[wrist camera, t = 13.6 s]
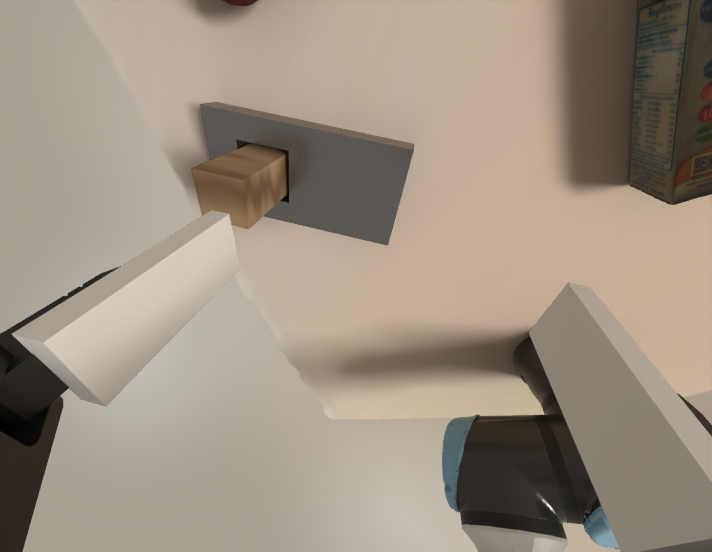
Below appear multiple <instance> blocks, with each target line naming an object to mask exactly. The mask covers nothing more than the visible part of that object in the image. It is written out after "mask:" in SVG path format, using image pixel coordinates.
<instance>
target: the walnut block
mask: <svg viewBox="0 0 712 552" xmlns="http://www.w3.org/2000/svg"><path fill="white" fill-rule="evenodd" d="M191 171H192V175H193V179H194V183H195V187H196V192H197V196H198V200H199V204H200V208H201V213H202V216H203V215H205V214H207V213H208V212H210V211H217V212H222V213H227V214H229V216H230V221H231V225H234V226H238V227H242V228H246V229H249V228H250V227H252V226H253V225H254V224H255V223H256V222H257V221H258V220H259V219H260V218H261V217H263V216H264V215H265V214H266V213H267V212H268V211H269V210H270V209H271V208H272V207H274V206H275V205H276V204H277V203H278V202H279V201H280V200H281V199H282V198H283V197H285V196H286V195H287V194H288V193H289V151H287V150H283V149H278V148H274V147H269V146H264V145H260V144H255V143H251V144H249V145H247V146H244V147H242V148H239V149H237V150H235V151H232V152H230V153H227V154H225V155H222V156H220V157H218V158H215V159H213V160H210V161H208V162H206V163H203V164H201V165H198V166H196V167H194V168H191Z"/></svg>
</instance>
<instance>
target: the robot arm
mask: <svg viewBox="0 0 712 552" xmlns="http://www.w3.org/2000/svg"><path fill="white" fill-rule="evenodd" d="M239 269H240V266H239V261H238V256H237V251H236V246H235V241H234V236H233V231H232V226H231V221H230V216H229V214H227V213H222V212H217V211H210V212H208V213H207V214H205V215H203V216H202V217H200V218H199V219H197V220H195V221H194V222H192V223H190V224H189V225H187V226H186V227H184V228H182V229H181V230H179V231H177V232H176V233H174V234H173V235H171V236H169V237H168V238H166V239H165V240H163V241H161V242H160V243H158V244H156V245H155V246H153V247H152V248H150V249H148V250H147V251H145V252H144V253H142V254H140V255H139V256H137V257H135V258H134V259H132V260H131V261H129V262H127V263H126V264H124V265H123V266H120V267H117V268H115V269H112V270H109V271H107V272H104V273H102V274H99V275H98V276H96V277H94V278H93V279H91V280H89V281H88V282H86V283H85V284H83V286H82V287H78V288H76V289H74V290H73V291H71V292H69V293H68V296H63V297H61V298H59V299H58V300H56V301H54V302H53V303H51V304H49V305H48V306H46V307H45V308H43V309H41V310H40V311H38V312H36V313H35V314H33V315H31V316H30V317H28V318H26V319H25V320H23V321H21V322H20V323H18V324H16V325H15V326H13V327H11V328H10V329H8V330H6V331H5V332H3V333H1V334H0V552H22V551H23V548H24V544H25V540H26V537H27V533H28V530H29V526H30V523H31V519H32V515H33V512H34V508H35V505H36V501H37V498H38V494H39V491H40V487H41V484H42V480H43V476H44V473H45V469H46V466H47V462H48V459H49V455H50V452H51V448H52V444H53V441H54V437H55V433H56V430H57V427H58V423H59V419H60V415H61V412H62V409H63V398H61V397H60V395H61V394H62V393H64V392H65V391H66V390H67V389H68V388H70V390H72V391H73V392H74V393H75V394H76V395H77V396H78V397H79V398H80V399H82V400H85V401H88V402H92V403H95V404H99V405H102V406H107V405H108V404H109V403H110V402H111V401H112V400H113V399H114V398H115V397H116V396H117V395H118V394H119V393H120V391H121V390H122V389H123V388H124V387H125V386H126V385H127V384H128V383H129V382H130V381H131V380H132V379H133V378H134V377H135V376H136V375H137V374H138V373H139V372H140V371H141V370H142V369H143V368H144V367H145V366H146V365H147V364H148V363H149V362H150V361H151V359H152V358H153V357H155V355H156V354H157V353H158V352H159V351H160V350H161V349H162V348H163V347H164V346H165V345H166V344H167V343H168V342H169V341H170V340H171V339H172V338H173V337H174V336H175V335H176V334H177V333H178V332H179V331H180V330H181V329H182V328H183V327H184V325H186V324H187V322H188V321H189V320H190V319H191V318H192V317H193V316H194V315H195V314H196V313H197V312H198V311H199V310H200V309H201V308H202V307H203V306H204V305H205V304H206V303H207V302H208V301H209V300H210V299H211V298H212V297H213V295H215V294H216V292H218V291H219V289H220V288H221V287H222V286H223V285H224V284H225V283H226V282H227V281H228V280H229V279H230V278H231V277H232V276H233V275H234V274H235V273H236V272H237V271H238V270H239ZM529 335H530V337H529V338H527V339H526V340H525V341H523V342H522V343H521V344H520V345H519V346H518V348H517V349H516V351H515V353H514V363H515V366H516V369H517V372H518V374H519V376H520V377H521V379H522V380H523V381H524V382H525V383H526V384H527V385H528V386H529V388H530V390H531V391H532V393H533V394H534V395H535V397H536V398H537V399H538V401H539V402H540V403H541V406H542V408H543V411H544V414H545V415H512V416H480V415H474V416H472V417H460V418H455V419H453V420H451V421H450V422H449V424H448V425H447V428H446V431H445V435H444V440H443V453H442V467H443V480H444V483H445V495H446V499H447V502H448V504H449V506H450V507H451V508H452V509H454V510H455V511H456V512H460V513H461V522H462V529H463V530H464V531H465V533H466V534H467V535H468V536H469V538H470V539H471V540H472V541H473V543H474V544H475V546H476V548H477V550H478V552H564V550H565V548H566V547H567V545H568V541H567V538H566V535H565V531H564V528H563V525H562V523H563V522H567V523H576V524H582V525H584V528H585V531H586V533H587V534H588V535H589V536H590V538H591V539H592V540H593V541H594V542H595V543H597V544H598V545H601V546H604V547H611V548H615V549H619V550H620V551H621V552H712V425H711V424H710V423H709V422H708V420H707V419H706V418H705V417H704V416H703V415H702V414H701V413H700V412H699V411H698V410H696V409H695V408H694V407H693V406H692V405H691V404H690V403H689V402H687V401H686V400H685V399H684V398H683V397H682V396H680V395H679V394H677V393H676V392H675V391H674V390H673V388H672V387H671V386H670V385H669V383H668V382H667V381H666V380H665V378H664V377H663V376H662V375H661V374H660V372H659V371H658V370H657V369H656V367H655V366H654V365H653V364H652V362H651V361H650V360H649V359H648V358H647V356H646V355H645V354H644V353H643V351H642V350H641V349H640V348H639V346H638V345H637V344H636V343H635V342H634V340H633V339H632V338H631V337H630V335H629V334H628V333H627V332H626V330H625V329H624V328H623V327H622V326H621V324H620V323H619V322H618V321H617V319H616V318H615V317H614V316H613V314H612V313H611V312H610V311H609V310H608V308H607V307H606V306H605V305H604V303H603V302H602V301H601V300H600V298H599V297H598V296H597V295H596V294H595V292H594V291H593V290H592V289H591V287H586V286H581V285H577V284H572V283H568V284H567V285H566V286H565V287H564V289H563V290H562V291H561V292H560V294H559V295H558V296H557V297H556V299H555V300H554V301H553V302H552V304H551V305H550V306H549V307H548V309H547V310H546V311H545V313H544V314H543V315H542V316H541V318H540V319H539V320H538V321H537V323H536V324H535V325H534V326H533V328H532V329H531V330H530V331H529Z"/></svg>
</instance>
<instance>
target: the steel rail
mask: <svg viewBox="0 0 712 552" xmlns="http://www.w3.org/2000/svg"><path fill="white" fill-rule="evenodd" d="M200 107H201V112H202V117H203V123H204V128H205V133H206V139H207V144H208V149H209V154H210V160H213V159H215V158H218V157H220V156H222V155H225V154H227V153H230V152H232V151H235V150H237V149H239V148H242V147H244V146H247V145H249V144H250V142H251V143H255V144H260V145H264V146H269V147H274V148H278V149H283V150H287V151H289V193H288V194H287V195H286V196H285V197H283V198H282V199H281V200H280V201H279V202H278V203H277V204H276V205H275V206H274V207H272V208H271V209H270V210H269V211H268V212H267V213H266V214H265V215H264V216H265V217H269V218H273V219H278V220H282V221H286V222H290V223H295V224H299V225H303V226H307V227H311V228H316V229H320V230H324V231H328V232H333V233H337V234H341V235H345V236H350V237H354V238H358V239H362V240H367V241H371V242H375V243H379V244H384V245H388V243H389V239H390V236H391V232H392V228H393V225H394V221H395V217H396V214H397V210H398V206H399V203H400V199H401V195H402V191H403V188H404V184H405V180H406V177H407V173H408V169H409V166H410V162H411V158H412V155H413V151H414V144H411V143H407V142H402V141H397V140H393V139H388V138H383V137H378V136H374V135H369V134H364V133H360V132H355V131H350V130H346V129H341V128H336V127H331V126H327V125H322V124H317V123H313V122H308V121H303V120H298V119H294V118H289V117H284V116H280V115H275V114H270V113H265V112H261V111H256V110H251V109H247V108H242V107H237V106H233V105H228V104H223V103H218V102H214V103H206V104H200Z"/></svg>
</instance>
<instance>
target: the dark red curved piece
mask: <svg viewBox="0 0 712 552" xmlns="http://www.w3.org/2000/svg"><path fill="white" fill-rule="evenodd" d="M223 1H225V2H227V3H229V4H232V5H238V6H248V5H251V4H253V3H254V2H256V1H257V0H223Z"/></svg>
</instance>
